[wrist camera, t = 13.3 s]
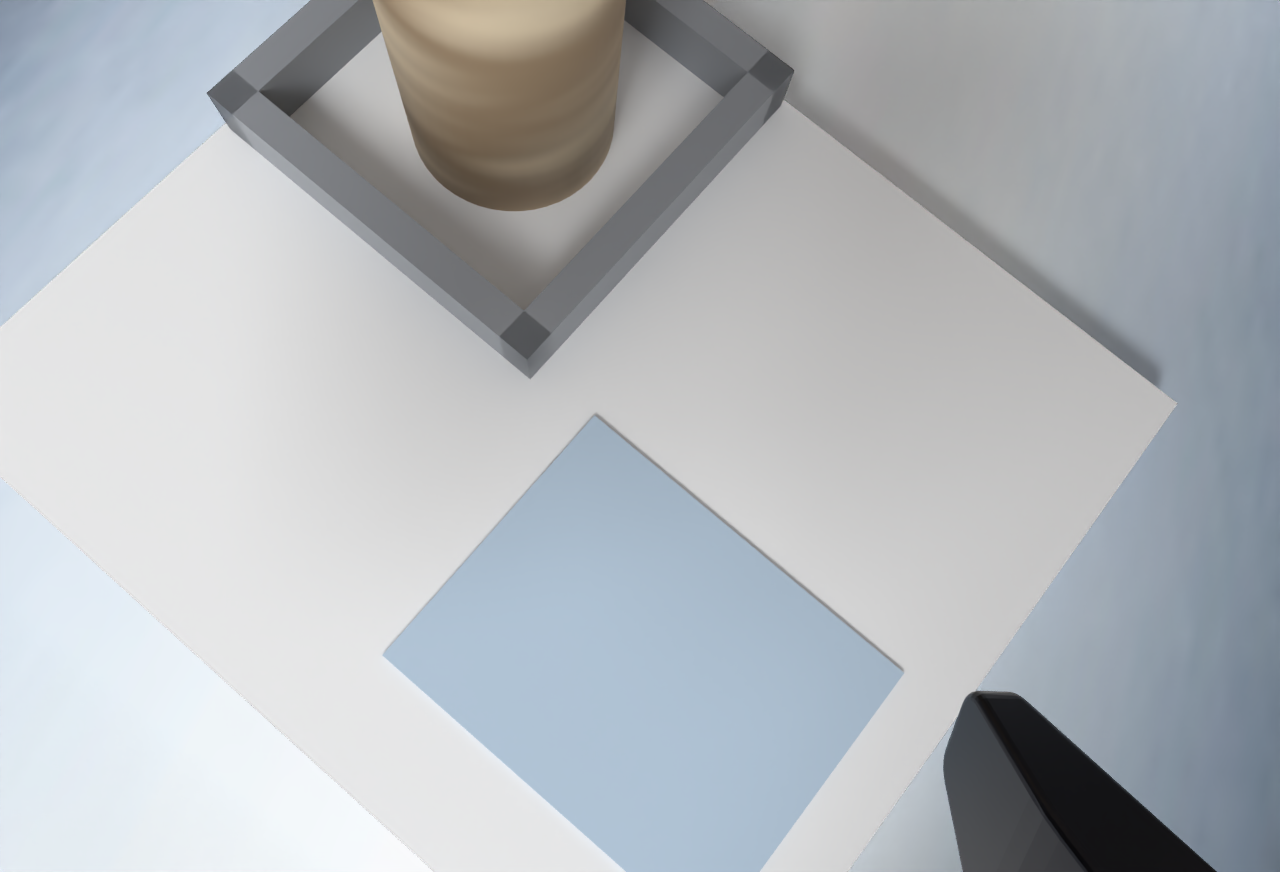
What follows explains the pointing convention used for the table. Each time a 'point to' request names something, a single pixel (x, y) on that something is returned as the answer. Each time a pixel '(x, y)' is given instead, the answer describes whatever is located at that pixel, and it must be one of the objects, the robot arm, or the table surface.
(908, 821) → the table surface
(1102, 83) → the table surface
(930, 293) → the base plate
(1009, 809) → the robot arm
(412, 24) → the maple post
